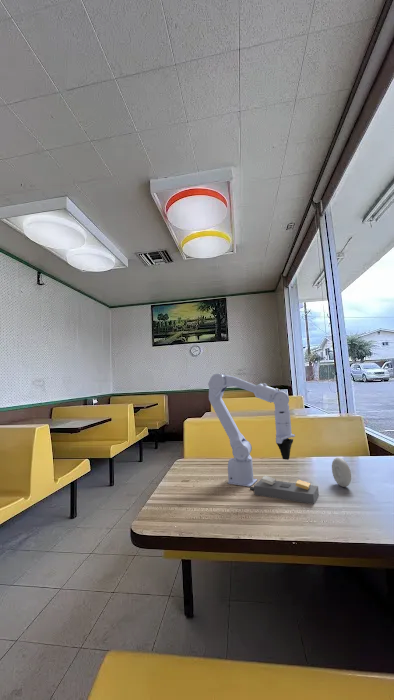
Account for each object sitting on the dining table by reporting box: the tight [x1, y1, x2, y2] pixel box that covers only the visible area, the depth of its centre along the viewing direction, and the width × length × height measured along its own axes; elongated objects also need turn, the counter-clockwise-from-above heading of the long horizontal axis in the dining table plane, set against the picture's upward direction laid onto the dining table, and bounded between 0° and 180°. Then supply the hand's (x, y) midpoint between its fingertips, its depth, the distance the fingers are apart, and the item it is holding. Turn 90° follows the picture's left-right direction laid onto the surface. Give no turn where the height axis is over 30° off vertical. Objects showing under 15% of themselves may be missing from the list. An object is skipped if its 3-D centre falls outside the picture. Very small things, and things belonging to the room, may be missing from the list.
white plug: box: [260, 475, 277, 485], centre depth 107 cm, size 4×4×1 cm
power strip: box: [249, 479, 320, 505], centre depth 105 cm, size 23×8×3 cm, turn 58°
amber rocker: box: [295, 479, 312, 490], centre depth 101 cm, size 4×4×1 cm
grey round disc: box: [331, 457, 352, 488], centre depth 109 cm, size 10×4×10 cm, turn 2°
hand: (286, 459), depth 114 cm, fingers closed
